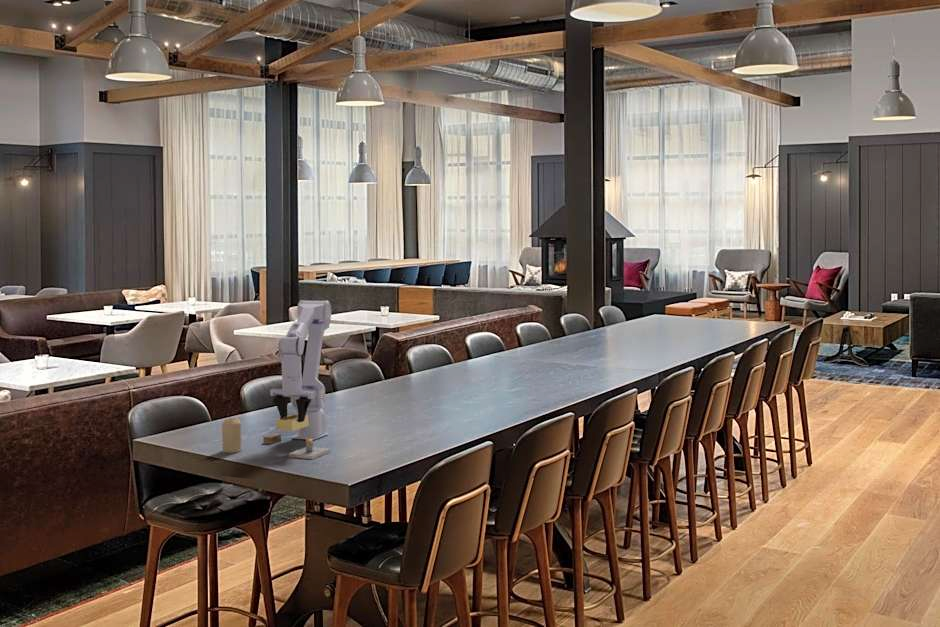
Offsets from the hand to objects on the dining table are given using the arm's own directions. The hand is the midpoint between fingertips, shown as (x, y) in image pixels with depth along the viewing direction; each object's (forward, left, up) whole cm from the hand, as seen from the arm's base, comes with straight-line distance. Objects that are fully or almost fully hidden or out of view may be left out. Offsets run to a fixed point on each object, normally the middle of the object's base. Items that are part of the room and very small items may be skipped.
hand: (292, 420), depth 306 cm
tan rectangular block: (-5, -11, -8) cm, 15 cm away
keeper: (+5, +9, -8) cm, 13 cm away
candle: (+10, -15, -9) cm, 20 cm away
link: (0, 0, -2) cm, 2 cm away
